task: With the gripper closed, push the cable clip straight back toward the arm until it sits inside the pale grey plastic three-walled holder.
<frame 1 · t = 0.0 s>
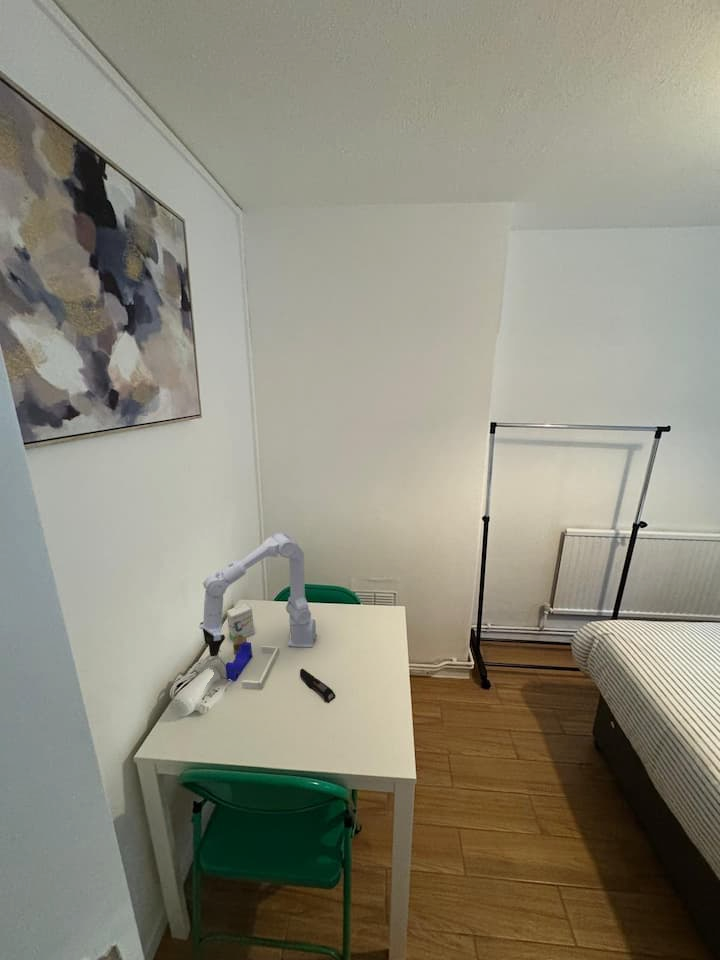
hand: (211, 649, 125), 11 cm above the table, tool pointing down, fingers open, 7 cm apart
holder: (262, 669, 130), on the table
walnut block: (240, 649, 140), on the table
electric trimmer: (316, 689, 121), on the table
ink box: (242, 636, 148), on the table
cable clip: (238, 668, 131), on the table
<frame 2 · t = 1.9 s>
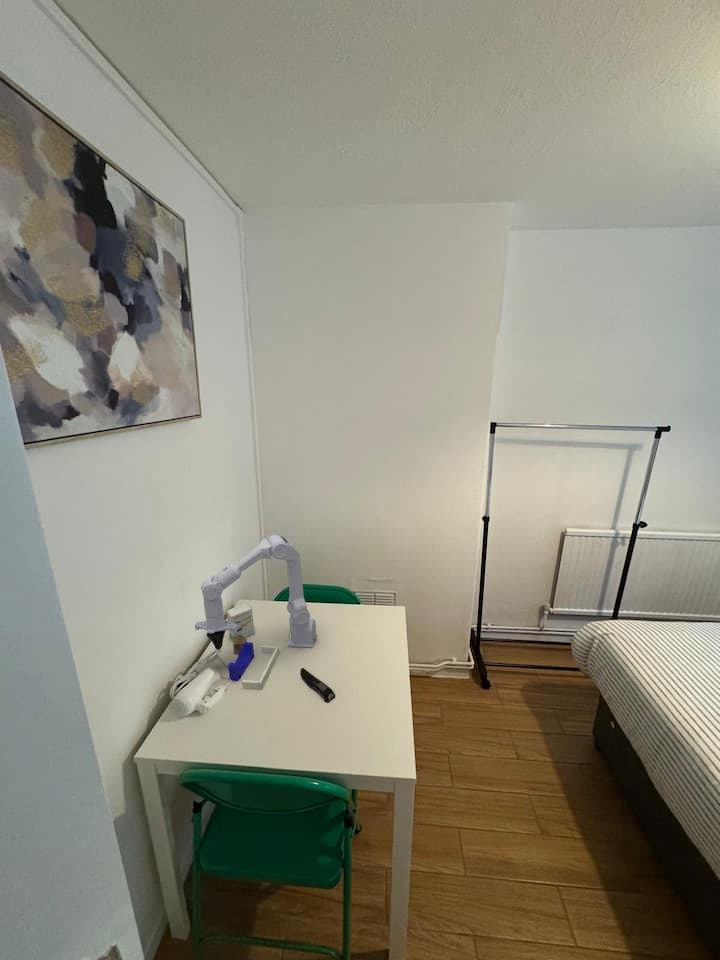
hand: (219, 647, 130), 8 cm above the table, tool pointing down, fingers closed
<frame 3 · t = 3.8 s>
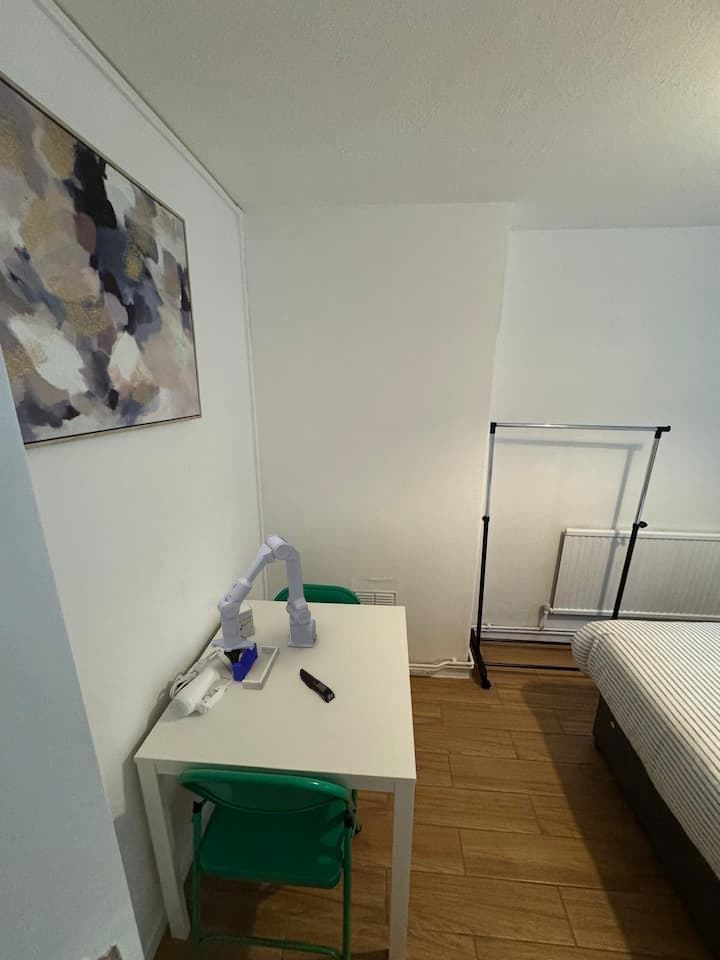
hand: (235, 664, 131), 1 cm above the table, tool pointing down, fingers closed
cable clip: (244, 668, 131), on the table, touching gripper
everything else where it was.
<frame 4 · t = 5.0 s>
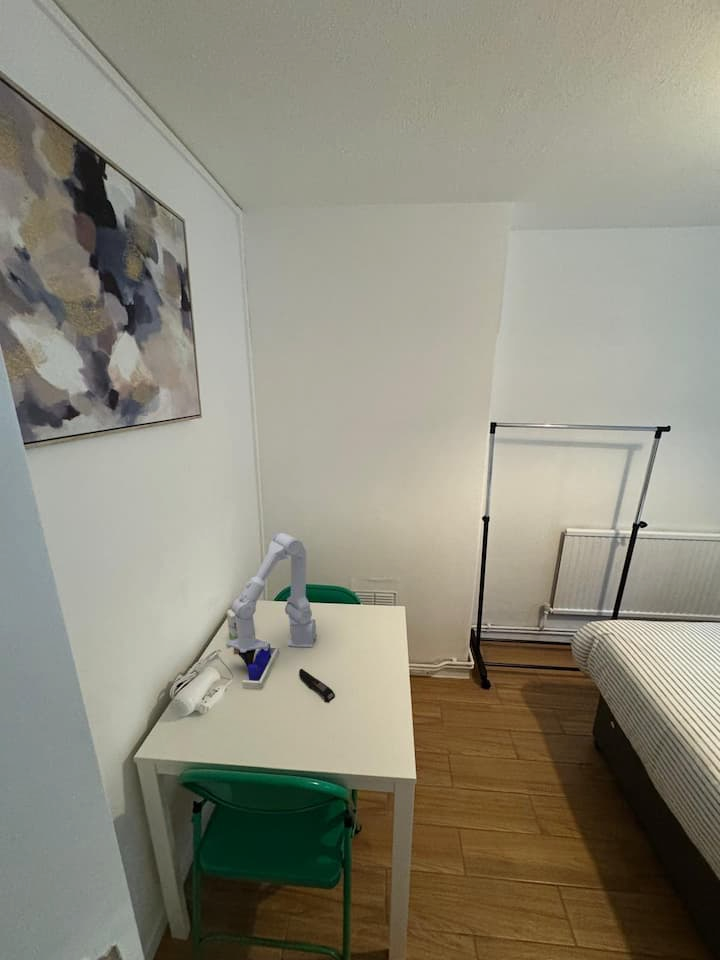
hand: (250, 665, 130), 1 cm above the table, tool pointing down, fingers closed
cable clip: (258, 670, 130), on the table
everything else where it was.
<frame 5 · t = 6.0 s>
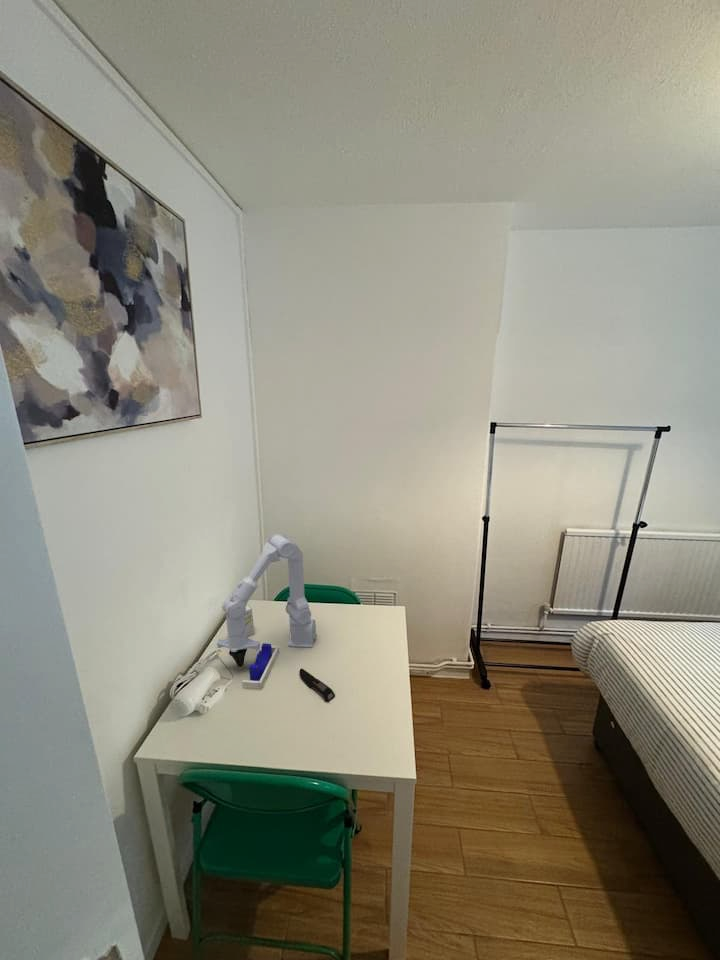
hand: (240, 665, 131), 1 cm above the table, tool pointing down, fingers closed
nothing on the table moved.
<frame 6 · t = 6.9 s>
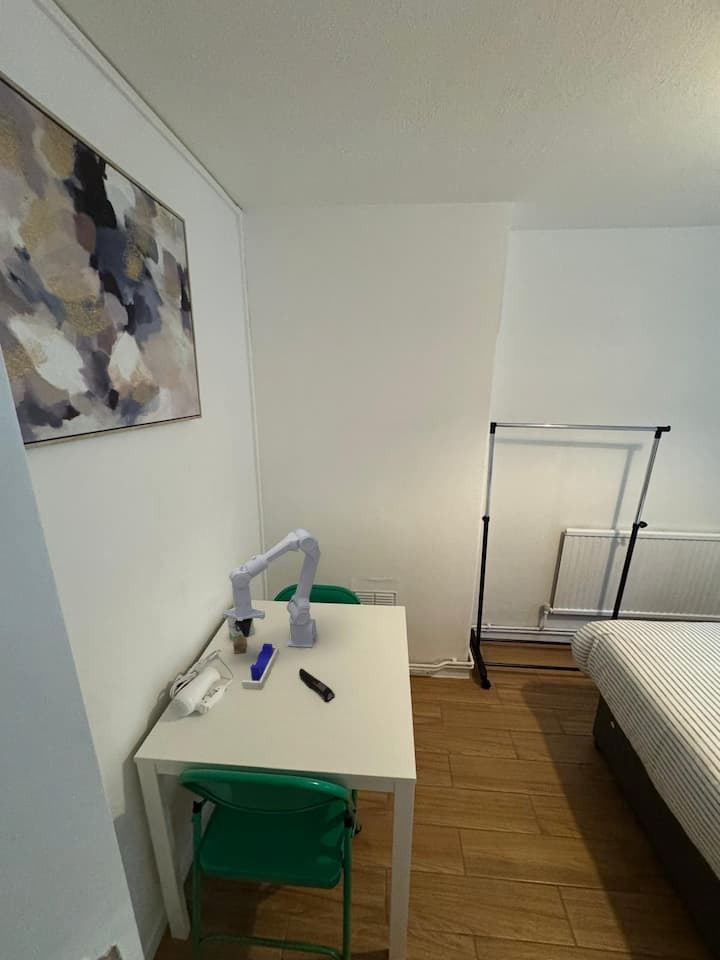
hand: (246, 635, 134), 9 cm above the table, tool pointing down, fingers closed
nothing on the table moved.
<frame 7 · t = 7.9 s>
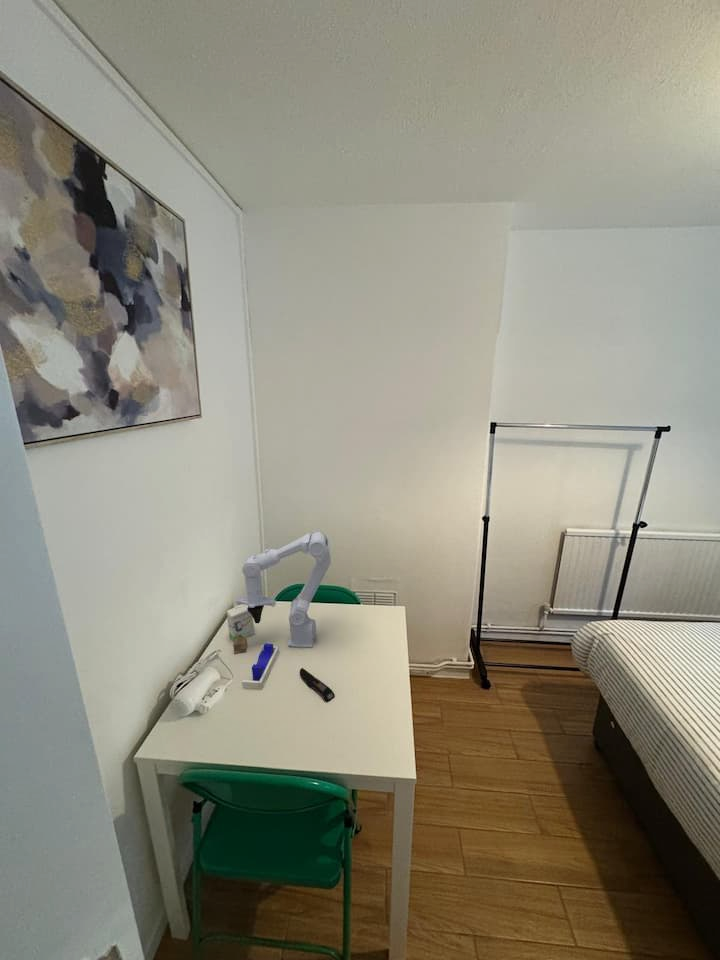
hand: (257, 621, 141), 9 cm above the table, tool pointing down, fingers closed
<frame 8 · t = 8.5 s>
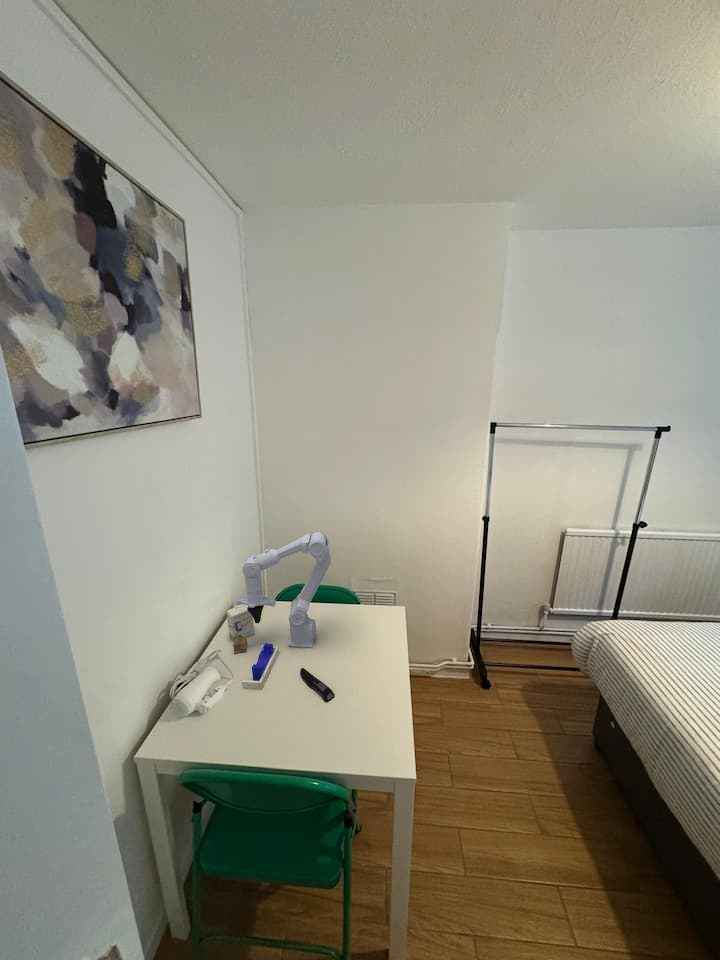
hand: (257, 621, 141), 9 cm above the table, tool pointing down, fingers closed
at the end: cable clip 0.3 cm from the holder (horizontally); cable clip moved 8.8 cm from its start; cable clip tilted 0° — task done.
